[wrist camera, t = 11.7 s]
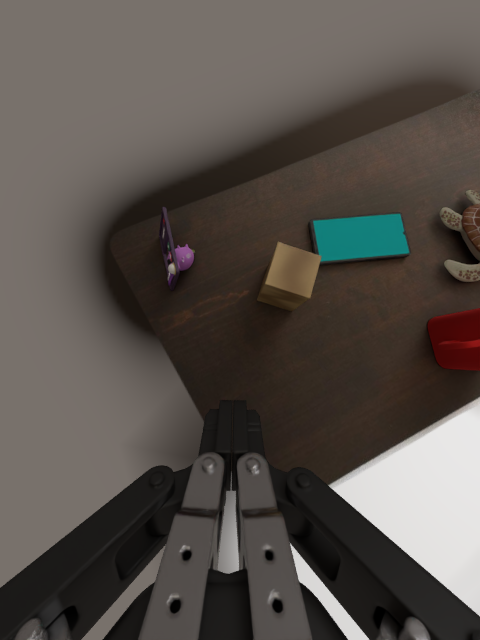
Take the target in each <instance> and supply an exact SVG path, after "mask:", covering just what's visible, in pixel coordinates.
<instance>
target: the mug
mask: <svg viewBox="0 0 480 640" xmlns="http://www.w3.org/2000/svg"><path fill="white" fill-rule="evenodd" d="M428 332H429V336H430V339H431V343H432V347H433V350H434V354H435V358H436V361H437V362H438V364H439V365H440V366H441V367H442V368H445V369H459V370H479V371H480V308H478V309H473V310H468V311H463V312H458V313H453V314H448V315H443V316H438V317H434V318H432V319H430V320H429V322H428Z"/></svg>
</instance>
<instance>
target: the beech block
mask: <svg viewBox="0 0 480 640" xmlns="http://www.w3.org/2000/svg"><path fill="white" fill-rule="evenodd" d="M321 257H322V256H319V255H316V254H313V253H310V252H307V251H304V250H301V249H298V248H295V247H292V246H289V245H286V244H283V243H280V242H278V244H277V246H276V248H275V251H274V253H273V255H272V257H271V260H270V262H269V264H268V267H267V270H266V273H265V276H264V279H263V282H262V285H261V288H260V291H259V295H258V298H257V300H258V301H261V302H264V303H267V304H270V305H273V306H276V307H279V308H282V309H285V310H288V311H291V312H292V311H293V310H295V309H296V308H297V307H299V306H300V305H301V304H303V303H304V302H305V301H307V300H308V299H310V296H311V293H312V289H313V286H314V282H315V278H316V275H317V271H318V268H319V264H320V261H321Z"/></svg>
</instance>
